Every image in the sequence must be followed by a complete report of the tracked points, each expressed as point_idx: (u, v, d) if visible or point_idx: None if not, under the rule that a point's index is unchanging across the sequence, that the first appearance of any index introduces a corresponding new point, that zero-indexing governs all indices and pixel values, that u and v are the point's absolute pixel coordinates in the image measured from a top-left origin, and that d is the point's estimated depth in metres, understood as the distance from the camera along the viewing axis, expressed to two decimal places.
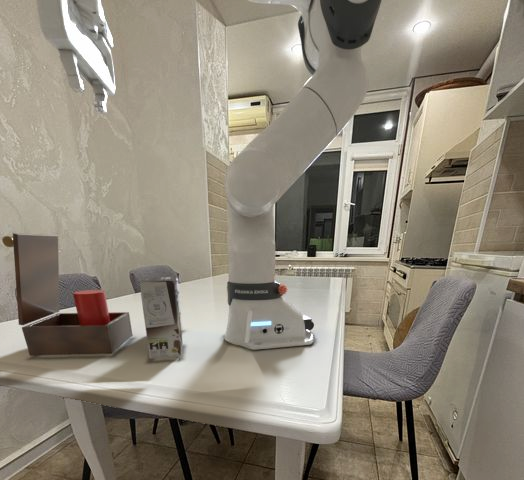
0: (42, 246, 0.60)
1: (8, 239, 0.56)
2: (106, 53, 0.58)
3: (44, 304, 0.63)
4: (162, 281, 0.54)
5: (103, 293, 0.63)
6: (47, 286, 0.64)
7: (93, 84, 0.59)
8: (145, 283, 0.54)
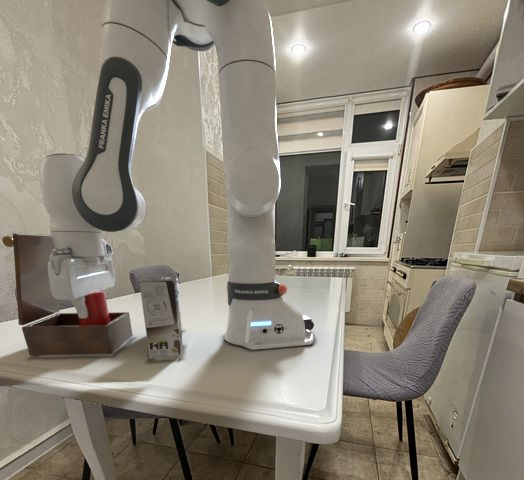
0: (42, 246, 0.60)
1: (8, 239, 0.56)
2: (107, 261, 0.67)
3: (44, 304, 0.63)
4: (162, 281, 0.54)
5: (103, 293, 0.63)
6: (47, 286, 0.64)
7: None
8: (145, 283, 0.54)
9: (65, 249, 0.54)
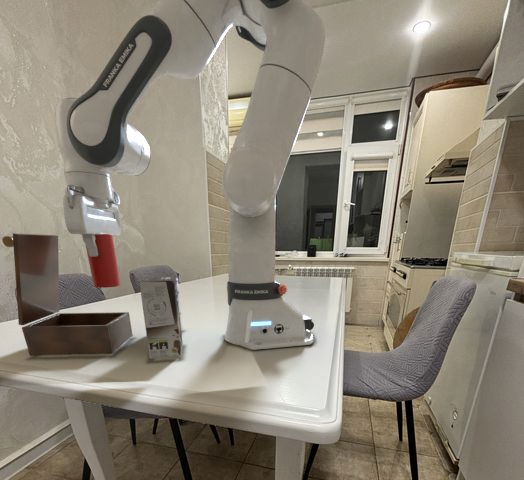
0: (42, 246, 0.60)
1: (8, 239, 0.56)
2: (114, 210, 0.73)
3: (44, 304, 0.63)
4: (162, 281, 0.54)
5: (111, 236, 0.69)
6: (47, 286, 0.64)
7: None
8: (145, 283, 0.54)
9: (78, 187, 0.60)
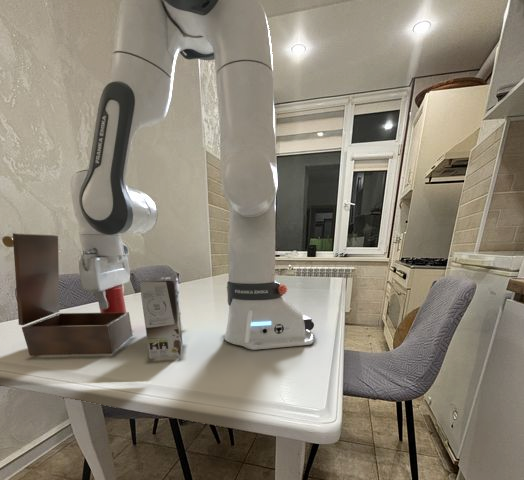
0: (42, 246, 0.60)
1: (8, 239, 0.56)
2: (124, 260, 0.78)
3: (44, 304, 0.63)
4: (162, 281, 0.54)
5: (121, 289, 0.74)
6: (47, 286, 0.64)
7: None
8: (145, 283, 0.54)
9: (92, 249, 0.65)
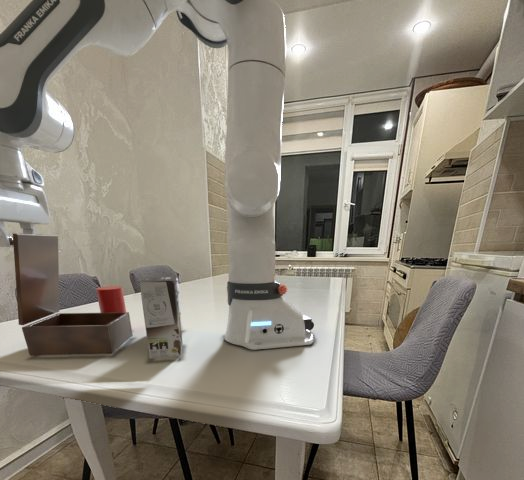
0: (42, 246, 0.60)
1: None
2: (37, 193, 0.62)
3: (44, 304, 0.63)
4: (162, 281, 0.54)
5: (121, 289, 0.74)
6: (47, 286, 0.64)
7: (20, 221, 0.60)
8: (145, 283, 0.54)
9: None
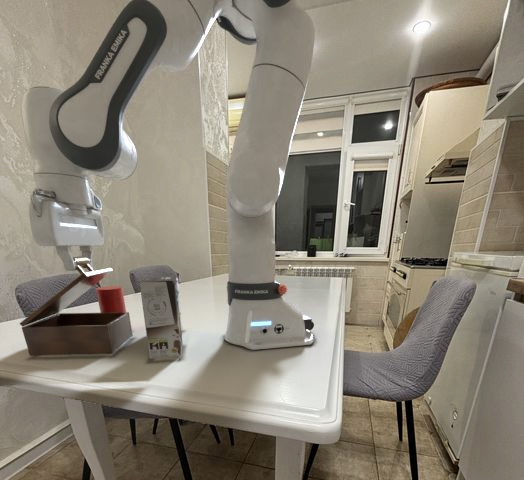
0: (95, 278, 0.63)
1: None
2: (96, 217, 0.64)
3: (53, 311, 0.64)
4: (162, 281, 0.54)
5: (121, 289, 0.74)
6: (69, 300, 0.65)
7: None
8: (145, 283, 0.54)
9: (48, 191, 0.51)
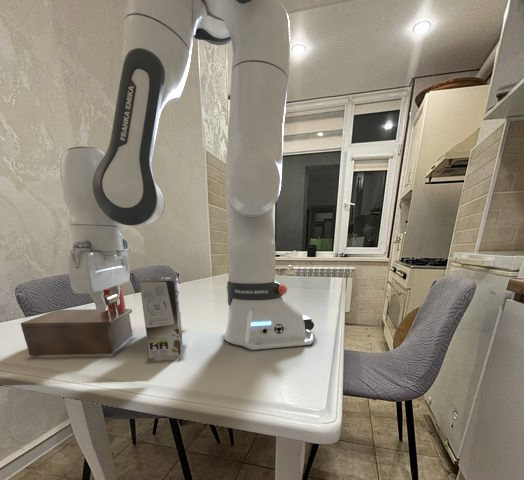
0: None
1: (106, 302, 0.61)
2: (123, 256, 0.67)
3: None
4: (162, 281, 0.54)
5: (121, 289, 0.74)
6: None
7: None
8: (145, 283, 0.54)
9: (85, 242, 0.54)
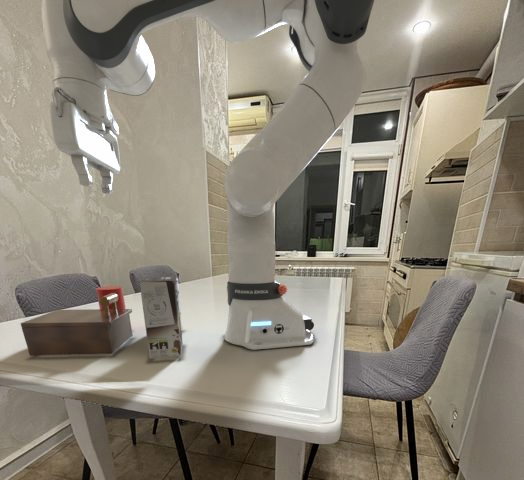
0: None
1: (106, 302, 0.61)
2: (113, 141, 0.64)
3: None
4: (162, 281, 0.55)
5: (121, 289, 0.74)
6: None
7: (100, 169, 0.64)
8: (145, 283, 0.54)
9: (68, 95, 0.50)
